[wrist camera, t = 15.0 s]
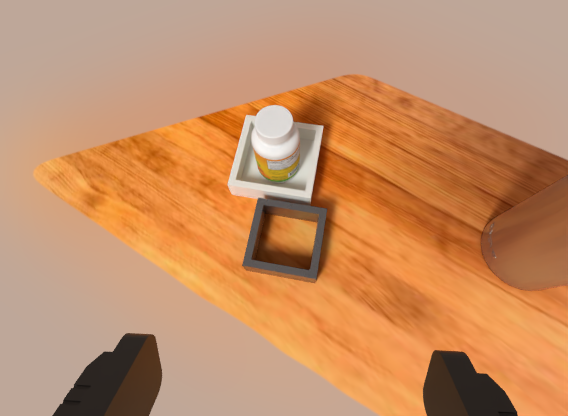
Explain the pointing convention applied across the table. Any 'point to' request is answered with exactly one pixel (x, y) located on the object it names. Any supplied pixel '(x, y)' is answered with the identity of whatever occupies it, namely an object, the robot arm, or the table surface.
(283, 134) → the supplement bottle
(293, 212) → the holder sleeve
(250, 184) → the tray
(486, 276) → the table surface
